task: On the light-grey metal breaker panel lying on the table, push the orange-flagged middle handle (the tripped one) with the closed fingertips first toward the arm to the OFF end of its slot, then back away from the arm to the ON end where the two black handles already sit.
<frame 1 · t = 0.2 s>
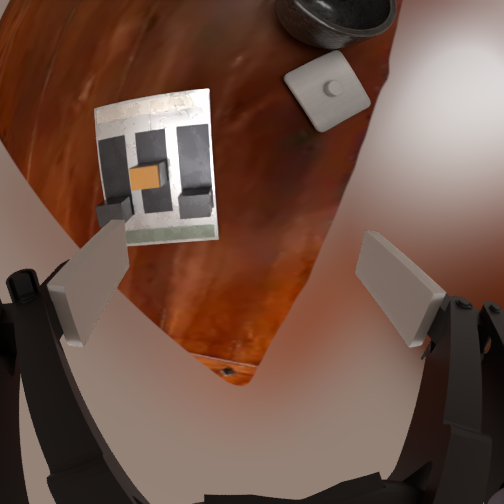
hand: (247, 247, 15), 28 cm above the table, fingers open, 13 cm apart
planter: (312, 20, 30), on the table
tripped breaker: (148, 175, 34), point 5 cm above the table, slide at 0.0 cm
light switch: (323, 91, 35), on the table
panel: (156, 169, 38), on the table
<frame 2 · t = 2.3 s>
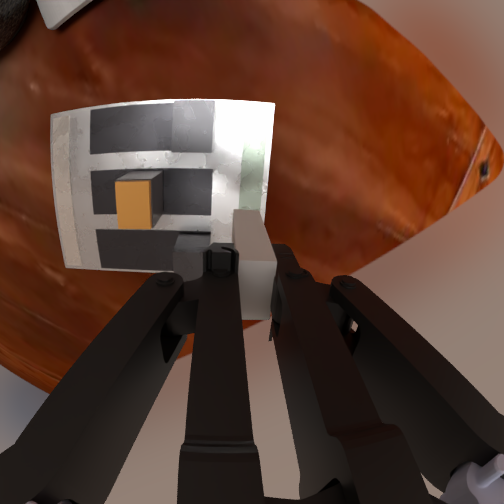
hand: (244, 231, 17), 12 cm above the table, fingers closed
planter: (8, 25, 13), on the table
tripped breaker: (140, 198, 22), point 5 cm above the table, slide at 0.0 cm
panel: (153, 187, 26), on the table
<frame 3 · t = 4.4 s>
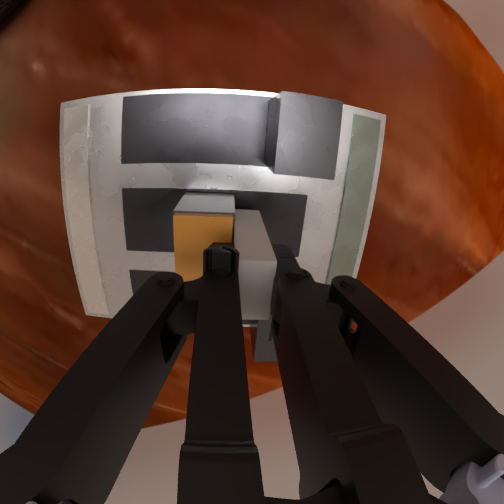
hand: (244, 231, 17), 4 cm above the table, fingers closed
tripped breaker: (205, 236, 16), point 5 cm above the table, slide at -0.2 cm, touching gripper
panel: (213, 213, 20), on the table
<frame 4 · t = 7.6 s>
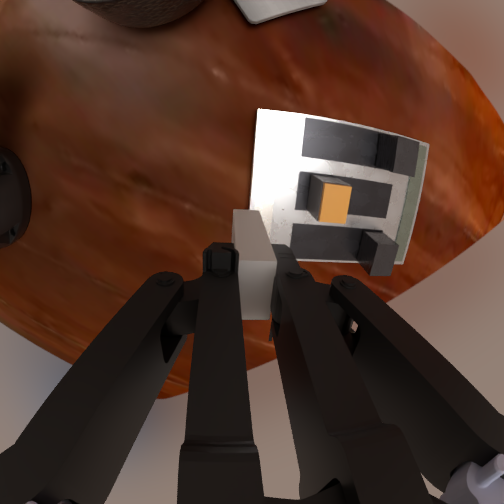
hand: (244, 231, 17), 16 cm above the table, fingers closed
tripped breaker: (328, 198, 28), point 5 cm above the table, slide at -3.2 cm
panel: (340, 191, 32), on the table
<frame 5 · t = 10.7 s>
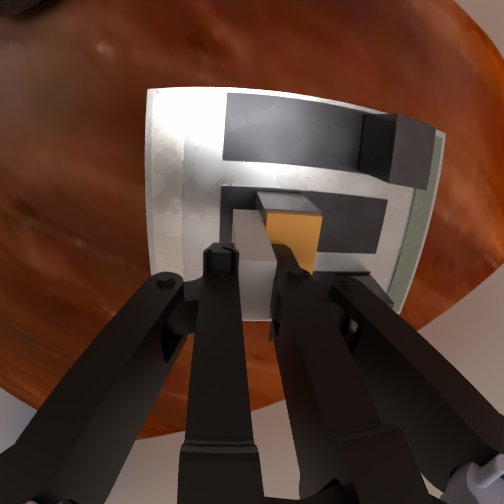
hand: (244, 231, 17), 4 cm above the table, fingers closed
tripped breaker: (283, 234, 16), point 5 cm above the table, slide at -2.3 cm, touching gripper
panel: (301, 213, 21), on the table
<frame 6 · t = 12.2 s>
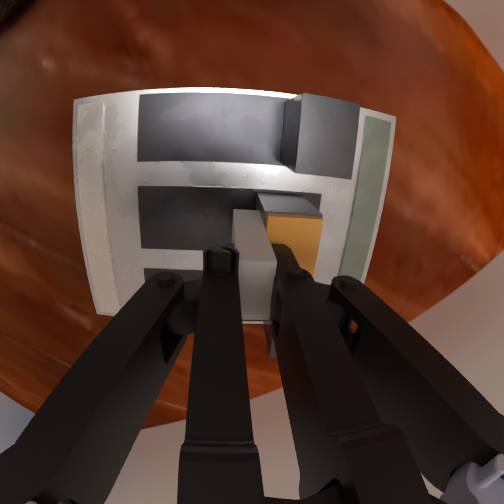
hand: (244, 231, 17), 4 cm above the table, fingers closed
tripped breaker: (283, 236, 16), point 5 cm above the table, slide at 3.2 cm, touching gripper
panel: (228, 211, 20), on the table
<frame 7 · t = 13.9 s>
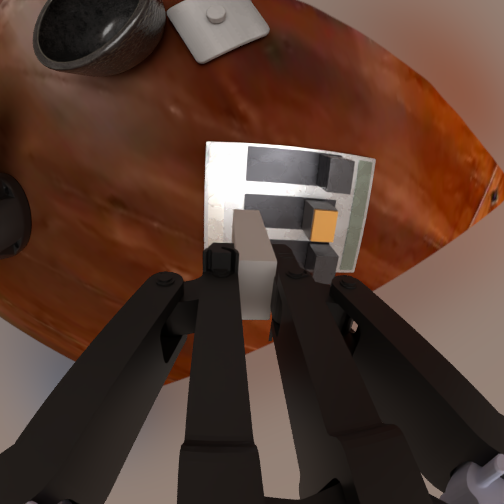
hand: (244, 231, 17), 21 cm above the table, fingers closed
planter: (127, 39, 26), on the table
tripped breaker: (319, 220, 34), point 5 cm above the table, slide at 3.2 cm
light switch: (218, 25, 27), on the table
panel: (287, 208, 38), on the table
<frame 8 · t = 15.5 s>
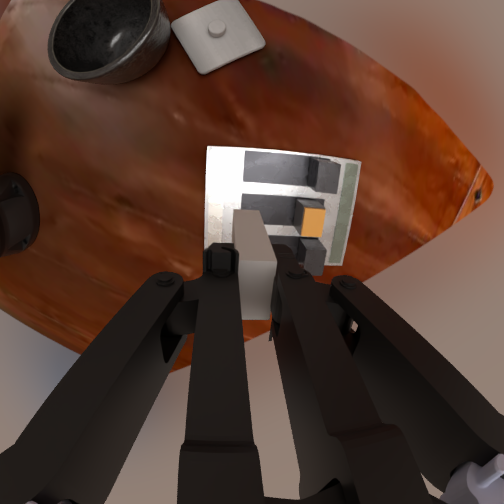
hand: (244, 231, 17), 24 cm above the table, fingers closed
planter: (133, 48, 29), on the table
tripped breaker: (309, 217, 38), point 5 cm above the table, slide at 3.2 cm
light switch: (218, 38, 30), on the table
panel: (280, 206, 41), on the table
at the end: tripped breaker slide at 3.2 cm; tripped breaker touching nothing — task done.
